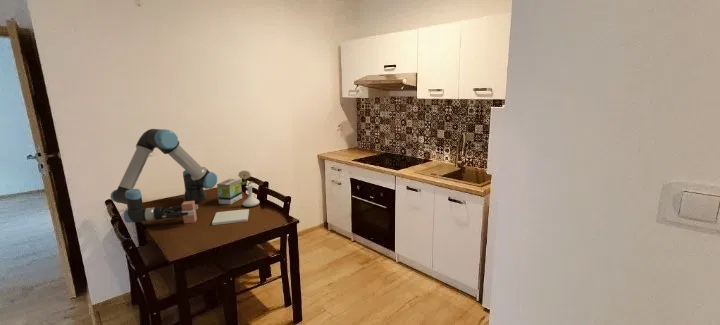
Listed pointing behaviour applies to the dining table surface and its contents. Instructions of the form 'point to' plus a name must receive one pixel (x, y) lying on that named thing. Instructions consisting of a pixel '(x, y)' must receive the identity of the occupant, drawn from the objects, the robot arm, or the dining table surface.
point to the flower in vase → (250, 200)
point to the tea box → (229, 191)
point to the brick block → (189, 207)
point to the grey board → (231, 217)
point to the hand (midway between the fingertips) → (196, 209)
